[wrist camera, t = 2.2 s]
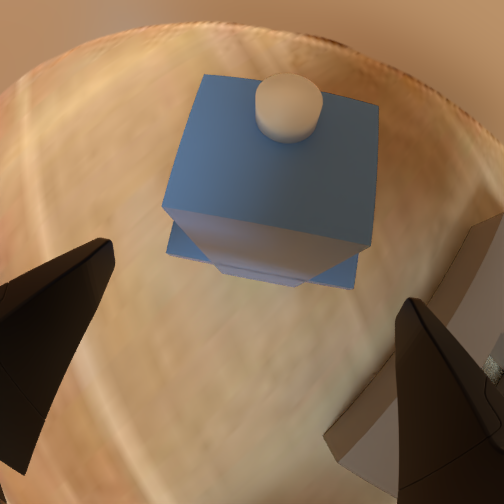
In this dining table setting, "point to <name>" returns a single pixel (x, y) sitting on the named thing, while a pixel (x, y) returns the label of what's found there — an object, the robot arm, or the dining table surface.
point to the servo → (275, 181)
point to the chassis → (462, 328)
